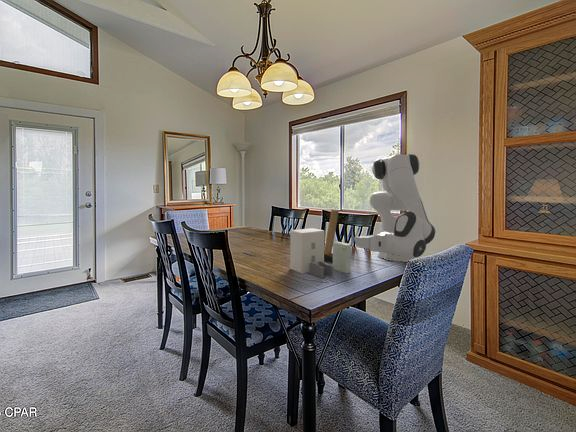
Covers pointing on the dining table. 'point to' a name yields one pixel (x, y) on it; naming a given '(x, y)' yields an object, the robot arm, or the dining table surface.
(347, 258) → the white upright block
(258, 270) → the dining table surface
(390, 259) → the robot arm
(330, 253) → the hammer
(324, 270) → the hinge cabinet
